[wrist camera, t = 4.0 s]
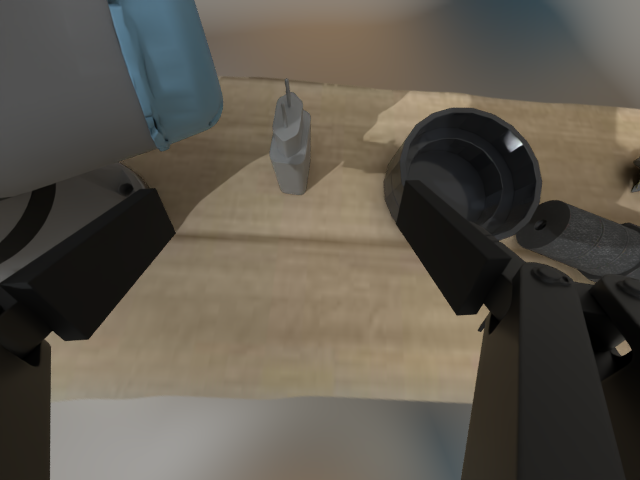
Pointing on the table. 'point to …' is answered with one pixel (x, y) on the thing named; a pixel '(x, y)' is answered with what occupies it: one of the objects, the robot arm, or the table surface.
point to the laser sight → (583, 240)
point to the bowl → (470, 169)
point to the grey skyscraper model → (291, 143)
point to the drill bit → (639, 186)
